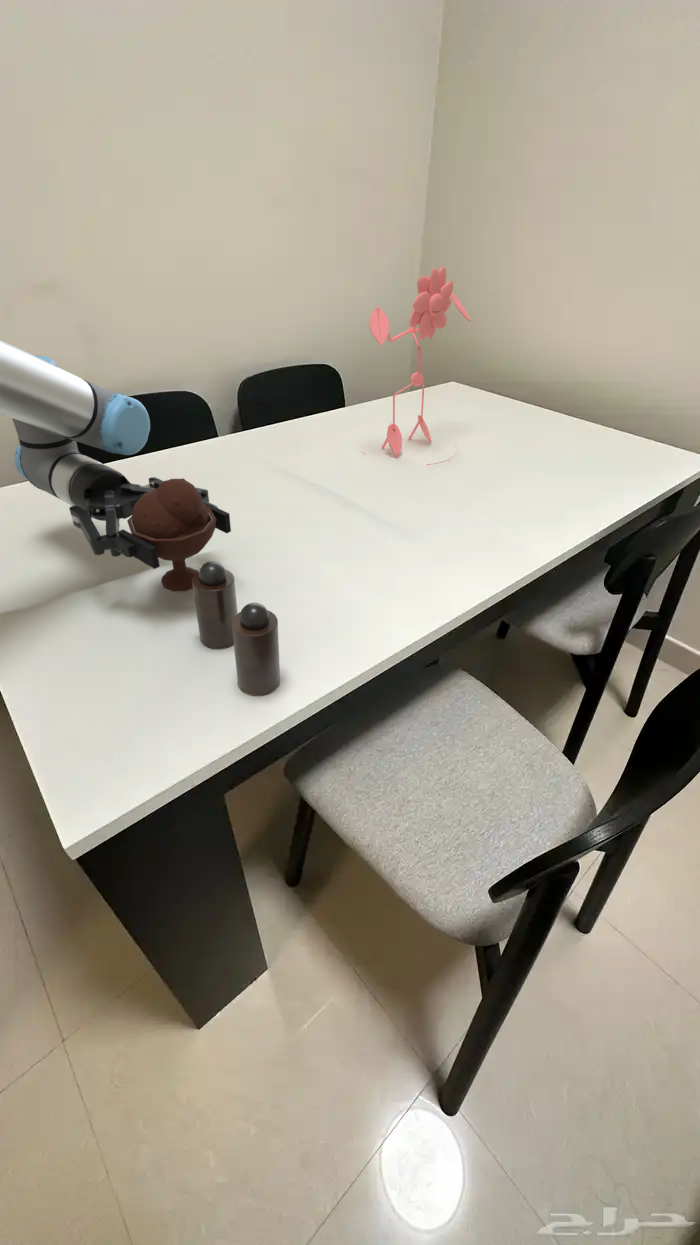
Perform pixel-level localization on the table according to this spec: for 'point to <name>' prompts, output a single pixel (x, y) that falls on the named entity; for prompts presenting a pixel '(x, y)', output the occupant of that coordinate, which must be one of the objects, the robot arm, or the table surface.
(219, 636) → the walnut mill middle
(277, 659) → the walnut mill near
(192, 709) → the table surface
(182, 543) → the ice cream bowl
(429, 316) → the figurine
